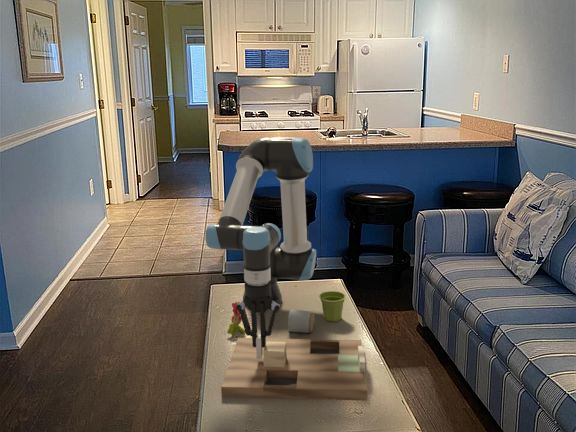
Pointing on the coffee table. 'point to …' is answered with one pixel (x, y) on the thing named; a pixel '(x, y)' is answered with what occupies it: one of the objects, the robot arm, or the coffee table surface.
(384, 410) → the coffee table surface
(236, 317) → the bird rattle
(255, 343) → the robot arm
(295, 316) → the ceramic mug
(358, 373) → the board
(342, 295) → the plant pot
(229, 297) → the coffee table surface
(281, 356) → the maple block
